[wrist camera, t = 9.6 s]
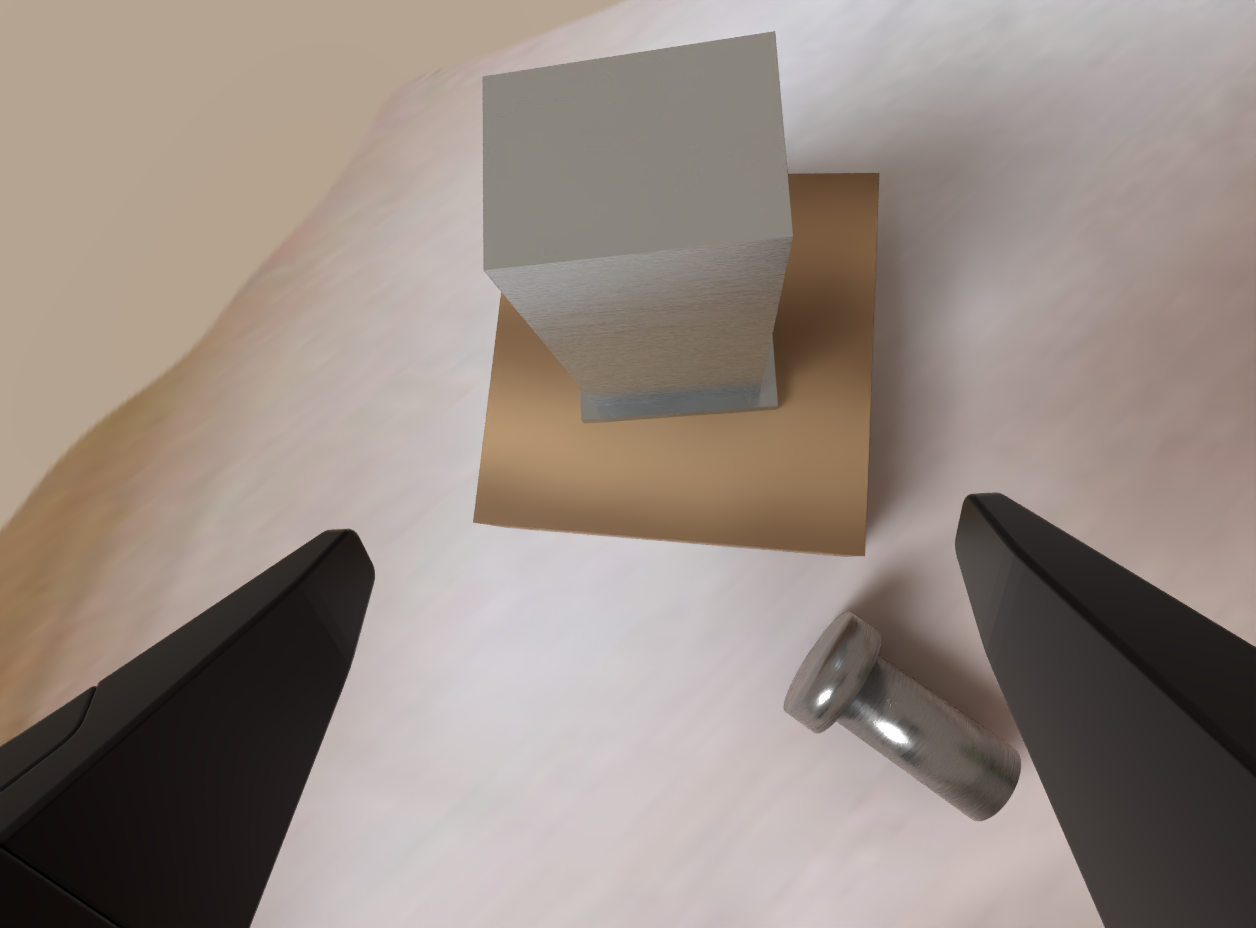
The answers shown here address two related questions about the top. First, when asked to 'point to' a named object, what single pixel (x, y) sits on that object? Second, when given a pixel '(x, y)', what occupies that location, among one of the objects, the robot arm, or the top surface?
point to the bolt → (901, 719)
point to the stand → (710, 417)
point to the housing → (645, 222)
